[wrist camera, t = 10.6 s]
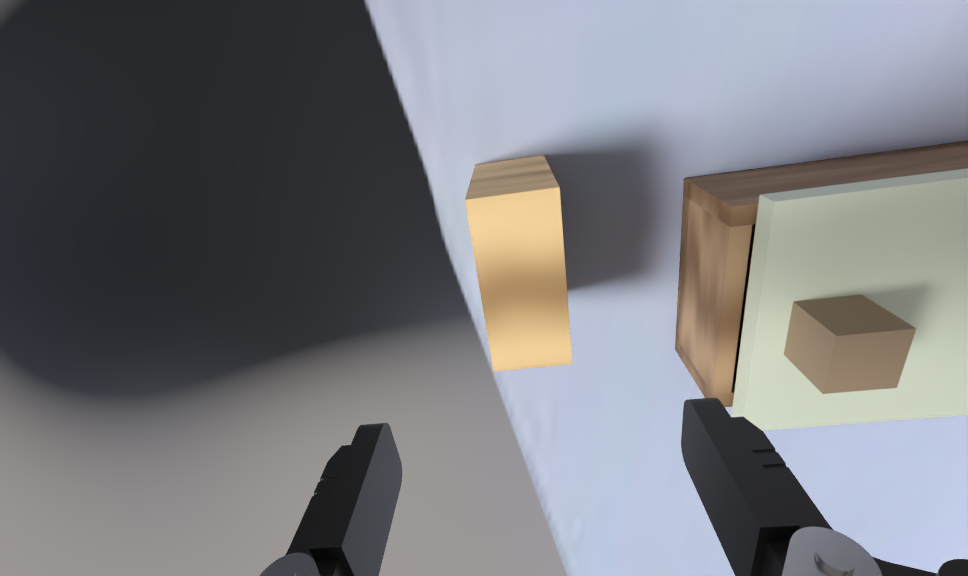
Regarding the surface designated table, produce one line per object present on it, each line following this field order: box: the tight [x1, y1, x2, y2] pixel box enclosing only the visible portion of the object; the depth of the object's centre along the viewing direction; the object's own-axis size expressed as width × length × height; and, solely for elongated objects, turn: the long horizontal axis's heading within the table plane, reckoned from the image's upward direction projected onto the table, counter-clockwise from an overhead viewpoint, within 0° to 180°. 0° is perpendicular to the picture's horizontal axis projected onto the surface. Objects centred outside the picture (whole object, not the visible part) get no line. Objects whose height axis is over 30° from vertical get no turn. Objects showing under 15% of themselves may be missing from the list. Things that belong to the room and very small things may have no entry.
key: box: [465, 155, 572, 371], centre depth 24 cm, size 9×4×8 cm, turn 8°
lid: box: [731, 168, 968, 431], centre depth 20 cm, size 13×17×4 cm
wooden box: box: [675, 141, 968, 407], centre depth 24 cm, size 12×24×6 cm, turn 98°
